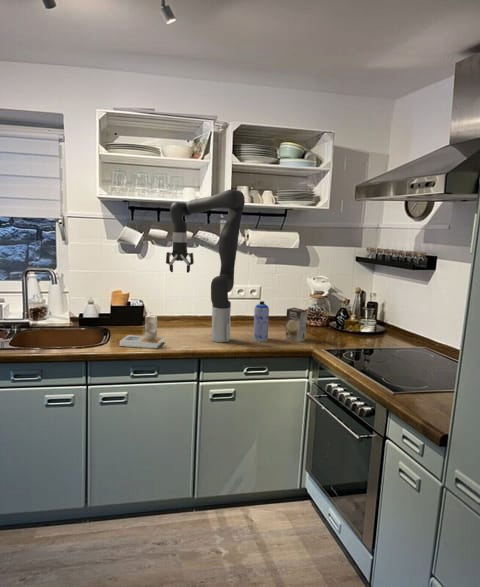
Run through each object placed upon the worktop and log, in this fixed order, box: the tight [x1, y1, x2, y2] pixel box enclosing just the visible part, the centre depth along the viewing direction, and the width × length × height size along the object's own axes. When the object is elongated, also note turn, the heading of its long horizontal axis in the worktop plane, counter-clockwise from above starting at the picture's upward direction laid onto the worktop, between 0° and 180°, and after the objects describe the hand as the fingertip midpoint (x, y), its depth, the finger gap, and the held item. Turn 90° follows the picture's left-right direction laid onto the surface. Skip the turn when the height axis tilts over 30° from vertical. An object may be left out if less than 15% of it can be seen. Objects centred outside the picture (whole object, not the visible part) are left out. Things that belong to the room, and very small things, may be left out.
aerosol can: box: [252, 300, 270, 342], centre depth 239 cm, size 8×8×20 cm
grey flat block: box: [119, 334, 165, 349], centre depth 223 cm, size 18×12×3 cm, turn 84°
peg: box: [144, 314, 158, 341], centre depth 222 cm, size 4×4×14 cm
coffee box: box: [284, 307, 308, 343], centre depth 242 cm, size 9×6×16 cm
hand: (179, 272), depth 243 cm, fingers open, 8 cm apart
